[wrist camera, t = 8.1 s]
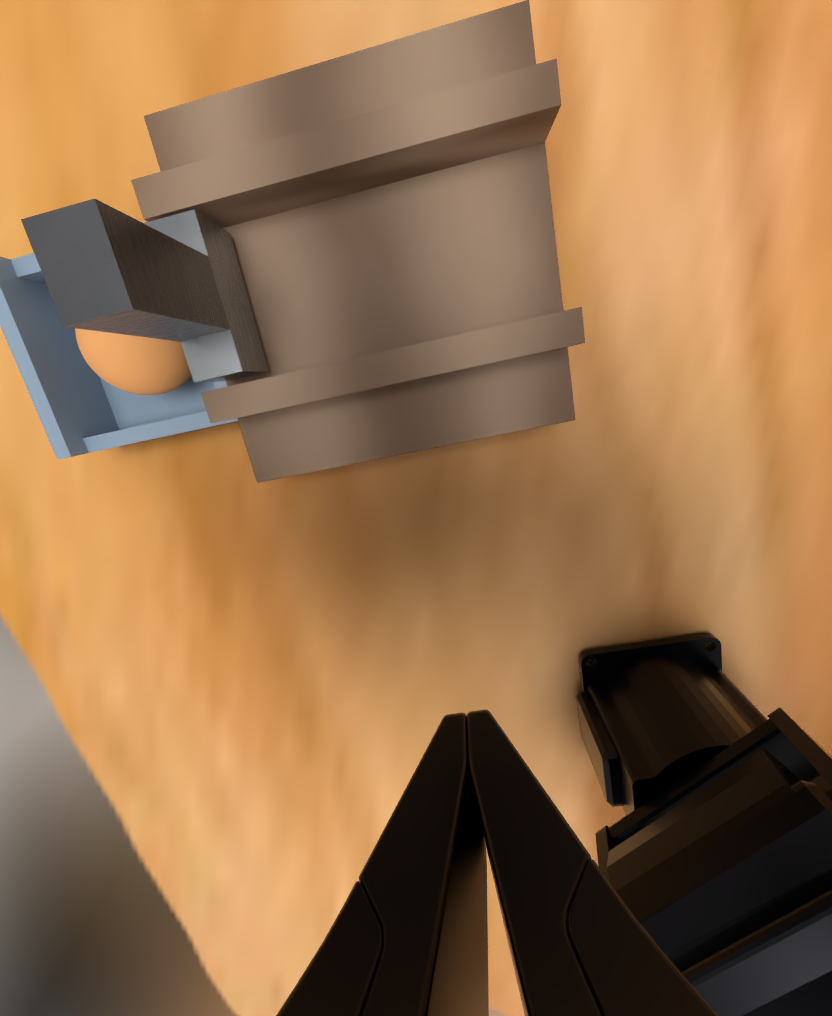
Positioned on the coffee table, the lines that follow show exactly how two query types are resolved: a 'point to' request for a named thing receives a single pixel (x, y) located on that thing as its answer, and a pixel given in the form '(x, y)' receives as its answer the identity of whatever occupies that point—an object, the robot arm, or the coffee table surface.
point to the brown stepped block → (385, 243)
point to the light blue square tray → (82, 377)
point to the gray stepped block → (151, 283)
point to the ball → (134, 361)
